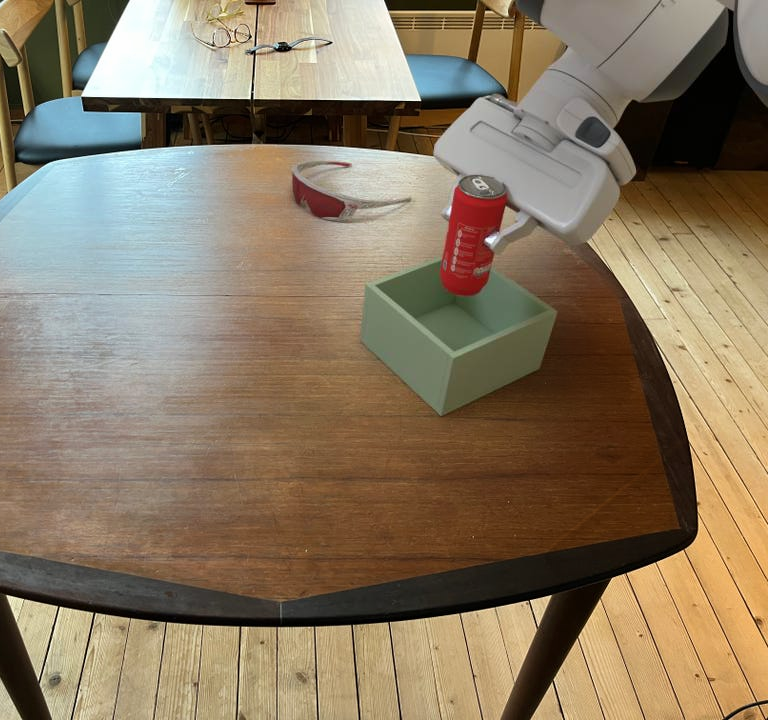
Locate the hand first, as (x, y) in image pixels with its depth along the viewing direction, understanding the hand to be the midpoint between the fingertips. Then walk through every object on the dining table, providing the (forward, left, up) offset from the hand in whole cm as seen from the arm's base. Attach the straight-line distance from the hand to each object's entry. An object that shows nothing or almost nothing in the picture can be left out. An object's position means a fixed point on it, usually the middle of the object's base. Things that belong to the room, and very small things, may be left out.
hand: (468, 235), depth 76 cm
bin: (+2, -3, -19) cm, 19 cm away
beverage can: (0, -1, -7) cm, 7 cm away
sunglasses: (+41, -14, -19) cm, 48 cm away
